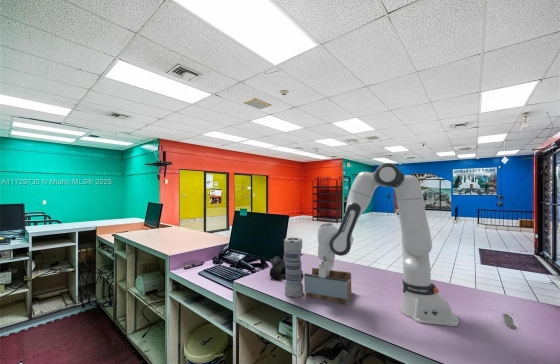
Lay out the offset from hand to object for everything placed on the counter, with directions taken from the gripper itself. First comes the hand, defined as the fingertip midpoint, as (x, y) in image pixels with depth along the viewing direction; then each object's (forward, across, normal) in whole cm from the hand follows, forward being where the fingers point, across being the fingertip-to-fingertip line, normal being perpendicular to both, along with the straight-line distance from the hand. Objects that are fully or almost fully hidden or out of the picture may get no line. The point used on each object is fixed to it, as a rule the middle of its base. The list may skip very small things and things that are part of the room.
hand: (326, 280), depth 129 cm
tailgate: (+6, -3, 0) cm, 7 cm away
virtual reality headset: (+10, +20, +31) cm, 38 cm away
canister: (+9, -2, +18) cm, 20 cm away
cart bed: (+9, +4, 0) cm, 10 cm away
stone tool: (+10, +8, -78) cm, 79 cm away
